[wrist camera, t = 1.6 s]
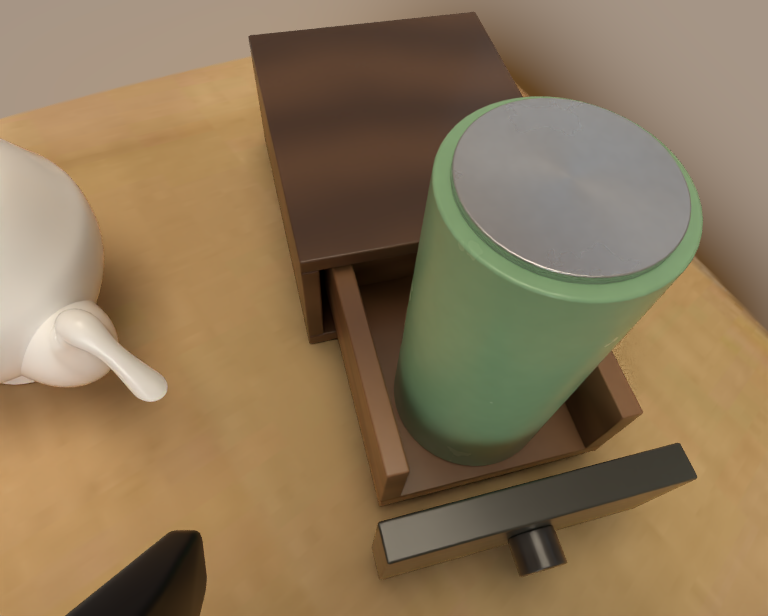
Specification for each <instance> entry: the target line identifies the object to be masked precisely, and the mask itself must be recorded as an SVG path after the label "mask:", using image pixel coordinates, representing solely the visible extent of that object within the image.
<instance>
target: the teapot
mask: <svg viewBox="0 0 768 616" xmlns="http://www.w3.org/2000/svg"><path fill="white" fill-rule="evenodd" d="M103 273H104V247H103V240H102V235H101V231H100V227H99V224H98V221H97V219H96V216H95V214H94V212H93V209H92V207H91V205H90V204H89V202H88V200H87V198H86V197H85V195H84V194H83V192H82V191H81V189H80V188H79V186H78V185H77V184H76V183H75V182H74V180H73V179H72V178H71V177H70V176H69V175H68V174H67V173H66V172H65V171H64V170H62V169H61V168H60V167H59V166H57V165H56V164H55V163H53V162H52V161H50V160H48V159H47V158H45V157H43V156H41V155H39V154H37V153H35V152H33V151H30V150H28V149H25V148H22V147H20V146H17V145H15V144H13V143H11V142H8V141H6V140H3V139H1V138H0V383H3V384H12V385H16V384H26V383H31V382H39V383H42V384H45V385H49V386H55V387H62V388H67V387H78V386H83V385H86V384H89V383H92V382H95V381H97V380H99V379H100V378H102V377H104V376H105V375H107V374H108V373H109V372H110V371H111V370H112V371H113V372H114V373H115V374H116V375H117V376H118V377H119V378H120V379H121V380H122V381H123V383H124V384H125V385H126V386H127V387H128V389H129V390H130V391H131V392H132V393H133V394H134V395H135V396H136V397H137V398H139V399H141V400H143V401H148V402H152V401H157V400H159V399H161V398H162V397H164V395H165V394H166V392H167V388H168V386H167V382H166V380H165V378H164V377H163V376H162V375H161V374H160V373H159V372H158V371H156V370H154V369H153V368H151V367H150V366H148V365H147V364H145V363H144V362H142V361H141V360H139V359H138V358H137V357H135V356H134V355H132V354H131V353H130V352H129V351H127V350H126V349H125V348H124V347H122V346H121V345H120V344H119V340H118V336H117V332H116V329H115V327H114V325H113V323H112V321H111V319H110V318H109V316H108V315H107V314H106V313H105V312H104V311H103V310H102V309H101V308H100V307H99V306H98V305H97V304H96V303H97V300H98V297H99V294H100V290H101V286H102V280H103Z"/></svg>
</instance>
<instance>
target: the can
mask: <svg viewBox="0 0 768 616" xmlns="http://www.w3.org/2000/svg"><path fill="white" fill-rule="evenodd" d="M702 225H703V216H702V207H701V203H700V199H699V196H698V192H697V190H696V188H695V185H694V183H693V181H692V179H691V177H690V176H689V174H688V172H687V171H686V169H685V168H684V166H683V165H682V164H681V162H680V161H679V160H678V159H677V157H676V156H675V155H674V154H673V153H672V152H671V151H670V150H669V149H668V148H667V147H666V146H665V145H664V144H663V143H662V142H661V141H659V140H658V139H657V138H656V137H655V136H653V135H652V134H651V133H649V132H648V131H646V130H645V129H644V128H642V127H641V126H639V125H637V124H636V123H634V122H632V121H630V120H629V119H627V118H625V117H623V116H621V115H619V114H616V113H614V112H612V111H610V110H607V109H604V108H601V107H598V106H595V105H592V104H589V103H585V102H581V101H577V100H571V99H565V98H557V97H521V98H514V99H508V100H503V101H500V102H497V103H493V104H490V105H488V106H485V107H483V108H481V109H478V110H476V111H475V112H473V113H471V114H470V115H468V116H466V117H465V118H464V119H463V120H461V121H460V122H459V123H458V124H456V125H455V127H454V128H453V129H452V130H451V131H450V132H449V133H448V134H447V135H446V137H445V138H444V140H443V142H442V143H441V145H440V146H439V149H438V151H437V154H436V156H435V159H434V164H433V168H432V174H431V179H430V185H429V190H428V196H427V202H426V207H425V213H424V218H423V224H422V229H421V235H420V241H419V246H418V252H417V257H416V263H415V268H414V274H413V280H412V285H411V291H410V296H409V302H408V307H407V313H406V319H405V324H404V330H403V335H402V341H401V346H400V352H399V358H398V363H397V369H396V374H395V380H394V398H395V403H396V408H397V411H398V413H399V416H400V418H401V420H402V422H403V424H404V426H405V427H406V429H407V430H408V432H409V433H410V435H411V436H412V437H413V438H414V439H415V440H416V441H417V442H418V443H419V444H420V445H421V446H422V447H424V448H425V449H426V450H428V451H429V452H431V453H432V454H434V455H436V456H438V457H440V458H442V459H444V460H446V461H449V462H452V463H456V464H461V465H468V466H484V465H490V464H495V463H498V462H501V461H504V460H506V459H508V458H510V457H512V456H513V455H515V454H516V453H517V452H519V451H520V450H521V449H522V448H523V447H524V446H525V445H526V444H527V443H528V442H529V441H530V440H531V439H532V438H533V437H534V436H535V435H536V433H537V432H538V431H539V430H540V429H541V428H542V427H543V426H544V425H545V424H546V422H547V421H548V420H549V419H550V418H551V417H552V416H553V415H554V414H555V413H556V411H557V410H558V409H559V408H560V407H561V406H562V405H563V404H564V403H565V402H566V400H567V399H568V398H569V397H570V396H571V395H572V394H573V393H574V392H575V391H576V389H577V388H578V387H579V386H580V385H581V384H582V383H583V382H584V381H585V380H586V378H587V377H588V376H589V375H590V374H591V373H592V372H593V371H594V370H595V369H596V367H597V366H598V365H599V364H600V363H601V362H602V361H603V360H604V359H605V357H606V356H607V355H608V354H609V353H610V352H611V351H612V350H613V349H614V348H615V346H616V345H617V344H618V343H619V342H620V341H621V340H622V339H623V338H624V337H625V335H626V334H627V333H628V332H629V331H630V330H631V329H632V328H633V327H634V326H635V324H636V323H637V322H638V321H639V320H640V319H641V318H642V317H643V316H644V315H645V313H646V312H647V311H648V310H649V309H650V308H651V307H652V306H653V305H654V304H655V302H656V301H657V300H658V299H659V298H660V297H661V296H662V295H663V294H664V293H665V291H666V290H667V289H668V288H669V287H670V286H671V285H672V284H673V283H674V281H675V280H676V279H677V278H678V277H679V276H680V275H681V274H682V273H683V272H684V270H685V269H686V268H687V266H688V265H689V264H690V262H691V261H692V260H693V258H694V255H695V253H696V251H697V249H698V247H699V243H700V239H701V235H702Z"/></svg>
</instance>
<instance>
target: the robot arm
mask: <svg viewBox="0 0 768 616" xmlns="http://www.w3.org/2000/svg"><path fill="white" fill-rule="evenodd" d="M206 582H207V575H206V566H205V558H204V550H203V542H202V537H201V535H200V533H199V532H198V531H195V530H175V531H171V532H169V533H168V534H166V535H165V536H164V537H162V538H161V539H160V540H159V541H157V542H156V543H155V544H154V545H152V546H151V547H150V548H149V549H148V550H146V551H145V552H144V553H143V554H141V555H140V556H139V557H138V558H136V559H135V560H134V561H133V562H131V563H130V564H129V565H128V566H126V567H125V568H124V569H123V570H121V571H120V572H119V573H118V574H116V575H115V576H114V577H113V578H111V579H110V580H109V581H108V582H106V583H105V584H104V585H103V586H102V587H100V588H99V589H98V590H97V591H95V592H94V593H93V594H92V595H90V596H89V597H88V598H87V599H85V600H84V601H83V602H82V603H80V604H79V605H78V606H77V607H75V608H74V609H73V610H72V611H70V612H69V613H68V614H67V615H65V616H200V612H201V608H202V604H203V599H204V595H205V590H206Z"/></svg>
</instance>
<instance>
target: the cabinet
mask: <svg viewBox="0 0 768 616" xmlns="http://www.w3.org/2000/svg"><path fill="white" fill-rule="evenodd" d="M249 44H250V49H251V56H252V62H253V68H254V74H255V80H256V86H257V92H258V98H259V105H260V111H261V117H262V123H263V129H264V135H265V141H266V145H267V150H268V154H269V159H270V164H271V168H272V173H273V177H274V182H275V187H276V191H277V196H278V200H279V205H280V210H281V214H282V219H283V223H284V228H285V233H286V237H287V242H288V246H289V251H290V256H291V260H292V265H293V269H294V274H295V279H296V283H297V288H298V292H299V297H300V302H301V306H302V311H303V315H304V320H305V325H306V329H307V334H308V338H309V343H310V344H312V343H317V342H322V341H327V340H332V339H337V338H338V336H337V332H336V328H335V324H334V320H333V316H332V312H331V308H330V304H329V300H328V296H327V292H326V288H325V273H324V269H328V268H334V267H339V266H345V265H350V264H356V263H361V262H367V261H372V260H378V259H383V258H389V257H394V256H400V255H406V254H411V253H417V252H418V246H419V241H420V235H421V229H422V224H423V218H424V213H425V207H426V202H427V196H428V190H429V185H430V179H431V174H432V168H433V164H434V159H435V156H436V154H437V151H438V149H439V146H440V145H441V143H442V142H443V140H444V138H445V137H446V135H447V134H448V133H449V132H450V131H451V130H452V129H453V128H454V127H455V125H456V124H458V123H459V122H460V121H461V120H463V119H464V118H465V117H466V116H468V115H470V114H471V113H473V112H475V111H476V110H478V109H481V108H483V107H485V106H488V105H490V104H493V103H497V102H500V101H503V100H508V99H514V98H521V97H523V96H522V95H521V93H520V91H519V89H518V88H517V86H516V84H515V82H514V80H513V79H512V77H511V75H510V73H509V72H508V70H507V68H506V66H505V65H504V63H503V61H502V59H501V57H500V55H499V54H498V52H497V50H496V49H495V47H494V45H493V43H492V41H491V39H490V38H489V36H488V34H487V33H486V31H485V29H484V27H483V25H482V24H481V22H480V20H479V18H478V16H477V15H476V13H475V12H470V13H459V14H450V15H440V16H431V17H422V18H412V19H402V20H394V21H384V22H374V23H364V24H355V25H346V26H335V27H326V28H317V29H307V30H297V31H288V32H278V33H269V34H260V35H250V36H249Z"/></svg>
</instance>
